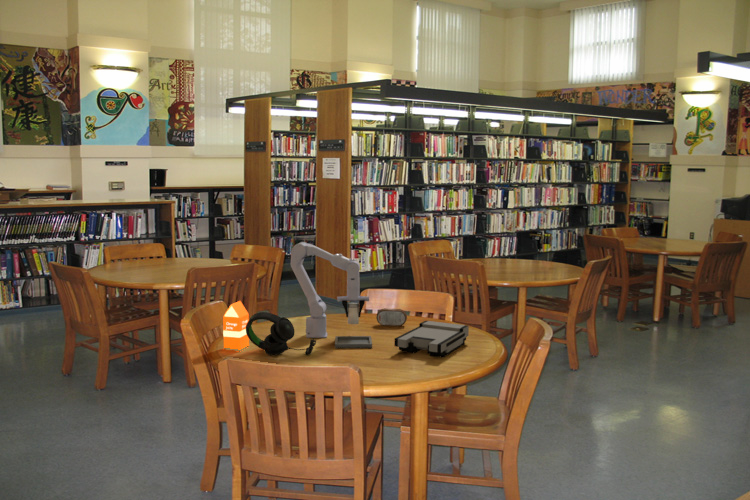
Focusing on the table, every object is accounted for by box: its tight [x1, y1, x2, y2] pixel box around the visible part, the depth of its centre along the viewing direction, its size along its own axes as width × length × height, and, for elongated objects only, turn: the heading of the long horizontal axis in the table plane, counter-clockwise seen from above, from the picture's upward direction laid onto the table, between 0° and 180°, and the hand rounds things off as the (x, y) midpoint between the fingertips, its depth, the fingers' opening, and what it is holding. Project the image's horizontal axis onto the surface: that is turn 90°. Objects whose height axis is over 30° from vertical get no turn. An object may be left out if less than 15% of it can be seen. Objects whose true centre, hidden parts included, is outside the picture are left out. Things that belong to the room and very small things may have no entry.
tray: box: [334, 335, 373, 349], centre depth 293 cm, size 16×14×2 cm
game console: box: [394, 320, 470, 359], centre depth 286 cm, size 21×32×8 cm, turn 152°
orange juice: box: [222, 300, 250, 350], centre depth 284 cm, size 8×9×20 cm
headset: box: [246, 311, 317, 356], centre depth 276 cm, size 18×14×29 cm
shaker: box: [347, 302, 360, 325], centre depth 304 cm, size 5×5×9 cm
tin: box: [375, 308, 408, 327], centre depth 328 cm, size 15×3×8 cm, turn 84°
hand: (353, 316), depth 305 cm, fingers closed on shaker, 5 cm apart
